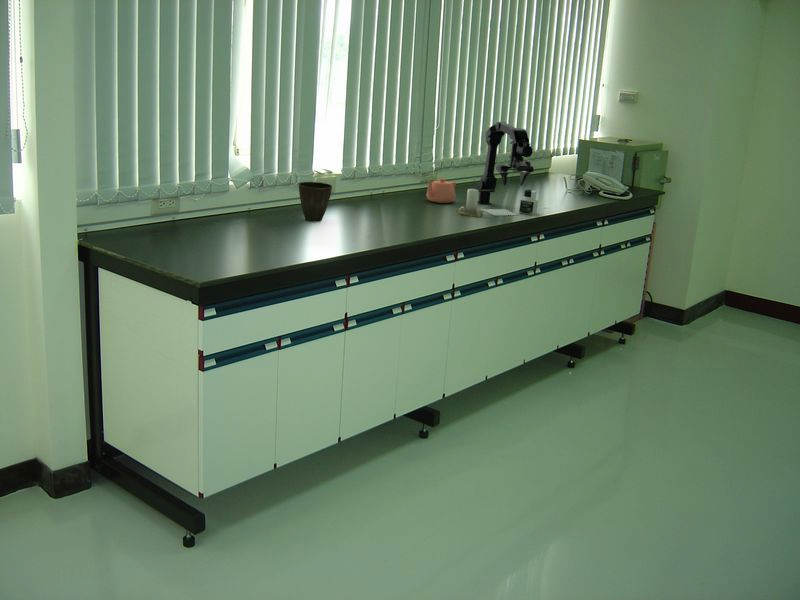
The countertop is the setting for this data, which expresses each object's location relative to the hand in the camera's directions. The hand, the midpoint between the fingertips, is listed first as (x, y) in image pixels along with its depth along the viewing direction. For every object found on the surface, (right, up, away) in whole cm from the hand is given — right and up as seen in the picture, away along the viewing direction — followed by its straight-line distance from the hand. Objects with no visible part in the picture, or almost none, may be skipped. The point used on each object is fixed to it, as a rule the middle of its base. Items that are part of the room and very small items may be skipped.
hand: (513, 185), depth 426 cm
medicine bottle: (+9, -13, +11) cm, 19 cm away
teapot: (-36, -5, +24) cm, 44 cm away
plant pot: (-96, -22, -44) cm, 107 cm away
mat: (-6, -13, +6) cm, 16 cm away
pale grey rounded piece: (-22, -15, -3) cm, 26 cm away
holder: (-22, -15, -3) cm, 26 cm away
